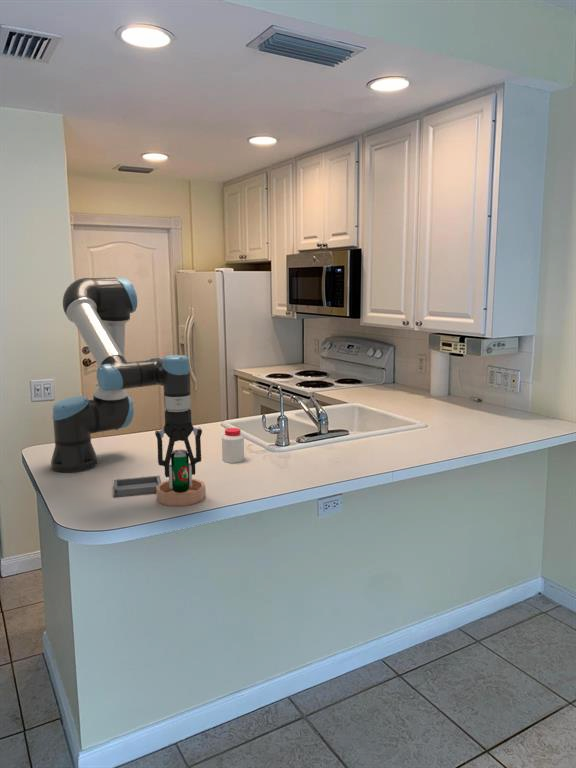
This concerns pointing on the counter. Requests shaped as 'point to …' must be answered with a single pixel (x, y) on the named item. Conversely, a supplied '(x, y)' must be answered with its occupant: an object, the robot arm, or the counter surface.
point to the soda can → (180, 471)
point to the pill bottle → (232, 446)
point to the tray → (136, 486)
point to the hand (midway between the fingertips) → (180, 485)
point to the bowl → (180, 494)
